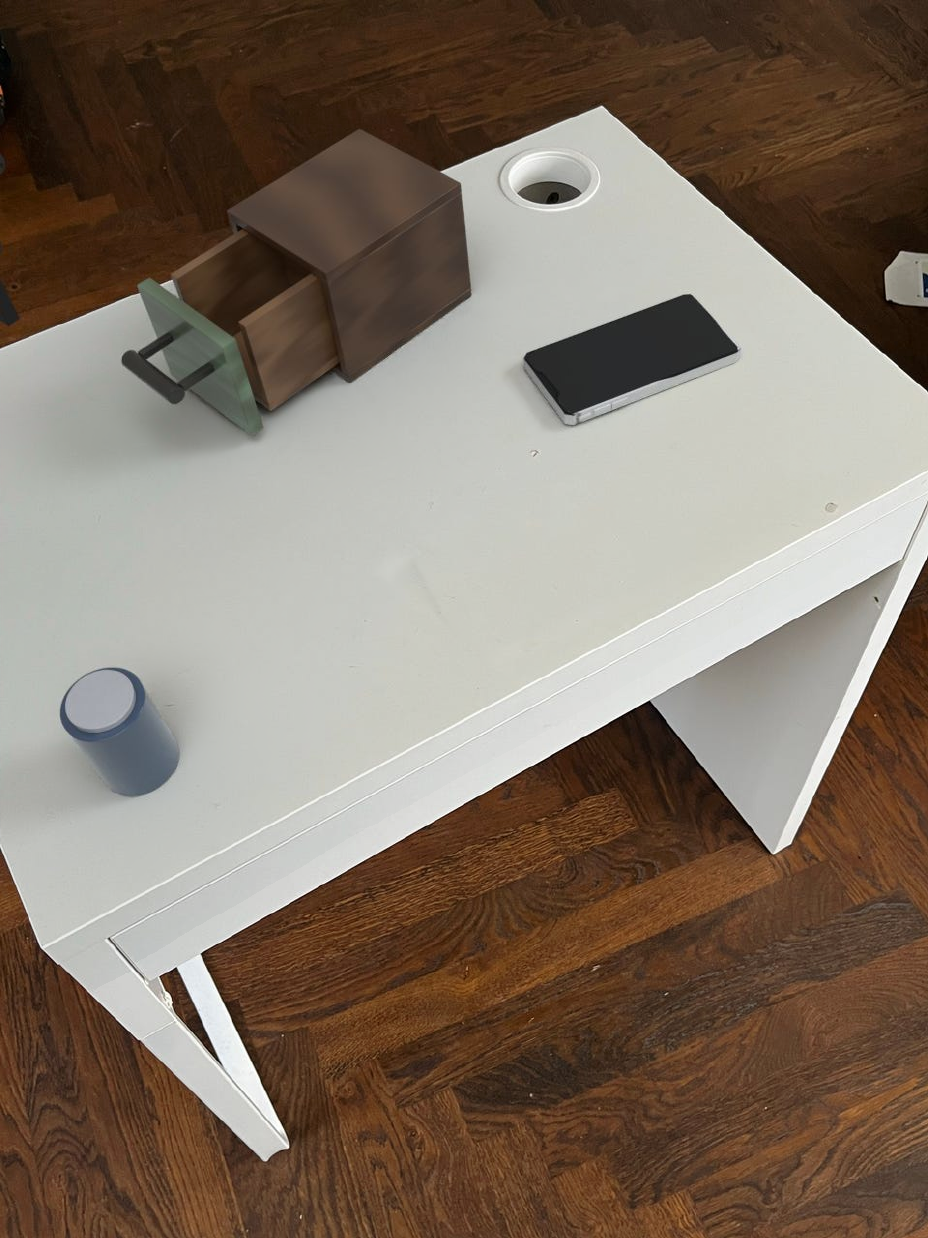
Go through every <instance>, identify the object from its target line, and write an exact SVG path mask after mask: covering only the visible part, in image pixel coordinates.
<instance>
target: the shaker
mask: <svg viewBox="0 0 928 1238" xmlns="http://www.w3.org/2000/svg"><path fill="white" fill-rule="evenodd" d="M59 720H60V723H61V725H62V728H63V729H64V730H65V732H66V733H67V735H68V736H69V737H70V739H71V740H72V742H73V743H74V744H75V745H76V747H77V748H78V750H79V751H80V752H81V753H82V755H83V756H84V757H85V759H86V760H87V761H88V763H89V764H90V766H91V767H92V768H93V770H94V771H95V772H96V774H97V776H98V777H99V778H100V779H101V781H102V782H103V783H104V785H105V786H106V787H107V788H108V789H109V790H110V791H111V792H113V793H115V794H118V795H121V796H125V797H140V796H145V795H147V794H149V793H151V792H155V791H156V790H157V789H160V788H161V787H162V786H163V785H164V784H165V783H166V782H167V781H168V780H169V779H170V778H171V777H172V775H173V774H174V772H175V770H176V769H177V766H178V763H179V759H180V758H179V757H180V748H179V745H178V742H177V740H176V738H175V736H174V734H173V733H172V731H171V729H170V728H169V726H168V724H167V722H166V721H165V719H164V718H163V717H162V714H161V713H160V710H159V709H158V708H157V705H156V704H155V703H154V701H153V698H152V697H151V696H150V694H149V692H148V690H147V689H146V687H145V686H144V683H143V682H142V680H141V679H140V677H138V676H137V675H136V674H135V673H133V672H132V671H130V670H128V669H125V668H122V667H113V666H112V667H111V666H110V667H101V668H99V669H95V670H91V671H90V672H87V673H86V674H84V675H82V676H80V678H78V679H77V680H76V681H74V682H73V684H71V686H70V687H69V688H68V689H67V691H66V692H65V694H64V695H63V698H62V700H61V702H60V707H59Z"/></svg>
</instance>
